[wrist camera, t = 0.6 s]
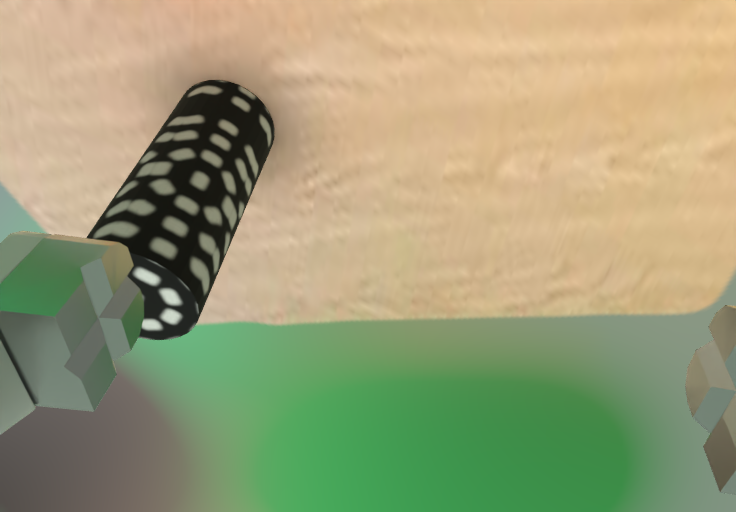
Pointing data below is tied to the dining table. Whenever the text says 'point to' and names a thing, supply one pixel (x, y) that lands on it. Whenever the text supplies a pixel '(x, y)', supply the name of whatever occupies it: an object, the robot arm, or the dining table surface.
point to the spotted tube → (188, 201)
